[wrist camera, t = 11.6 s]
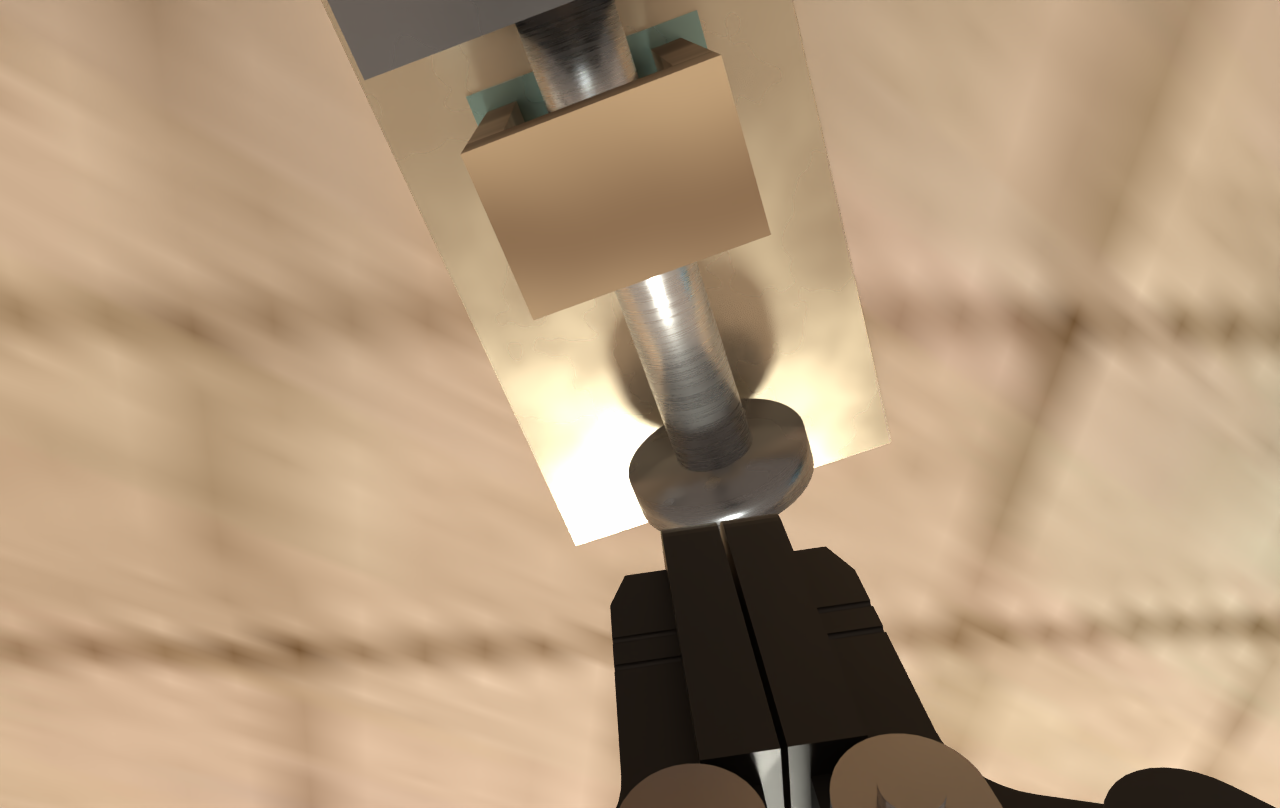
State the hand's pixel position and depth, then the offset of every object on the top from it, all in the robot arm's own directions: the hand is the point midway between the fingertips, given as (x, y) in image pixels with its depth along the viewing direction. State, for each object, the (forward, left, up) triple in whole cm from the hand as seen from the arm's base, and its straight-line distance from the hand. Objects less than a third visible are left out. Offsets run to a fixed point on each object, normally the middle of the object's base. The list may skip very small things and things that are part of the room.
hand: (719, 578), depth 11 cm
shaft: (-2, 0, -16) cm, 16 cm away
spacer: (-3, 0, -16) cm, 17 cm away
